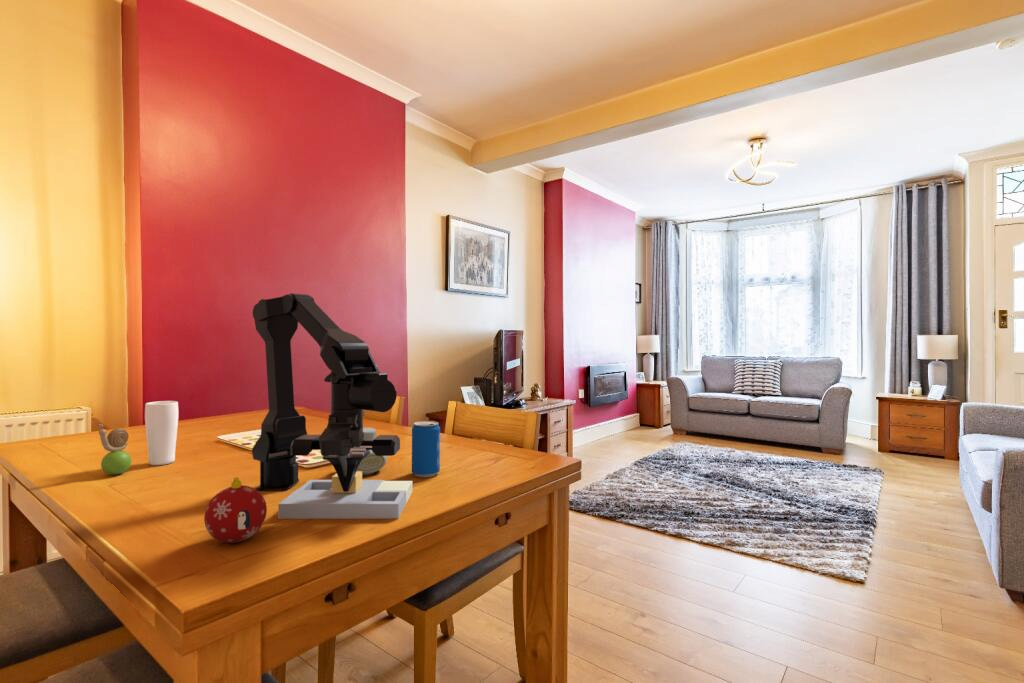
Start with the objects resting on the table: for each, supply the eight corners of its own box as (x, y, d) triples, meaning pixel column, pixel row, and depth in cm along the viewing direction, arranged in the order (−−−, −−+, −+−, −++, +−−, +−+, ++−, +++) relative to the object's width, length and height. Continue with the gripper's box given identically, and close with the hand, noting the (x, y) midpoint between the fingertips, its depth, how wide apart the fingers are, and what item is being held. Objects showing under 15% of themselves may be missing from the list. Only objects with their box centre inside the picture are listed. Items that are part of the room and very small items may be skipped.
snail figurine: (90, 477, 110) (89, 423, 110) (119, 470, 116) (118, 419, 116) (109, 479, 109) (109, 425, 108) (137, 471, 115) (137, 420, 115)
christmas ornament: (260, 525, 84) (260, 467, 84) (271, 543, 77) (272, 479, 77) (201, 538, 79) (201, 475, 79) (207, 557, 72) (207, 489, 72)
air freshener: (346, 480, 111) (347, 435, 110) (333, 471, 117) (333, 429, 117) (392, 471, 118) (392, 429, 117) (377, 464, 124) (377, 424, 124)
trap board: (278, 518, 88) (278, 503, 88) (310, 491, 103) (310, 478, 103) (398, 518, 88) (398, 503, 88) (412, 491, 103) (412, 478, 103)
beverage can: (433, 479, 112) (434, 426, 112) (407, 477, 113) (407, 424, 113) (443, 471, 118) (444, 421, 118) (418, 469, 120) (418, 419, 119)
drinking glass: (151, 460, 125) (151, 401, 125) (182, 458, 127) (182, 400, 127) (140, 467, 118) (140, 405, 118) (173, 465, 120) (173, 404, 120)
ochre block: (331, 492, 94) (331, 476, 94) (338, 486, 98) (339, 471, 98) (355, 492, 94) (355, 476, 94) (361, 486, 98) (362, 471, 98)
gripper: (276, 413, 84) (276, 505, 84) (387, 414, 85) (387, 505, 85) (303, 404, 95) (302, 486, 95) (400, 405, 96) (400, 486, 96)
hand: (346, 491), depth 92 cm, fingers closed
